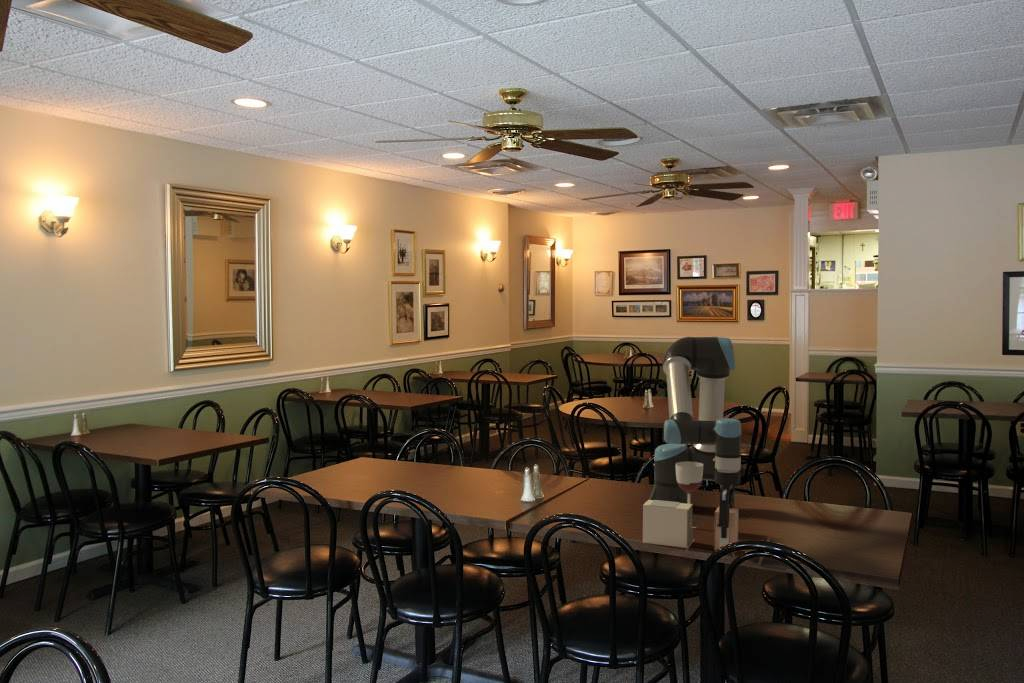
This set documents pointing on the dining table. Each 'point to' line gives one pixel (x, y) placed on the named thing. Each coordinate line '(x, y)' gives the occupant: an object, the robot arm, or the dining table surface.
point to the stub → (732, 527)
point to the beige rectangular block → (667, 523)
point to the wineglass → (689, 476)
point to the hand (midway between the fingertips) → (726, 544)
